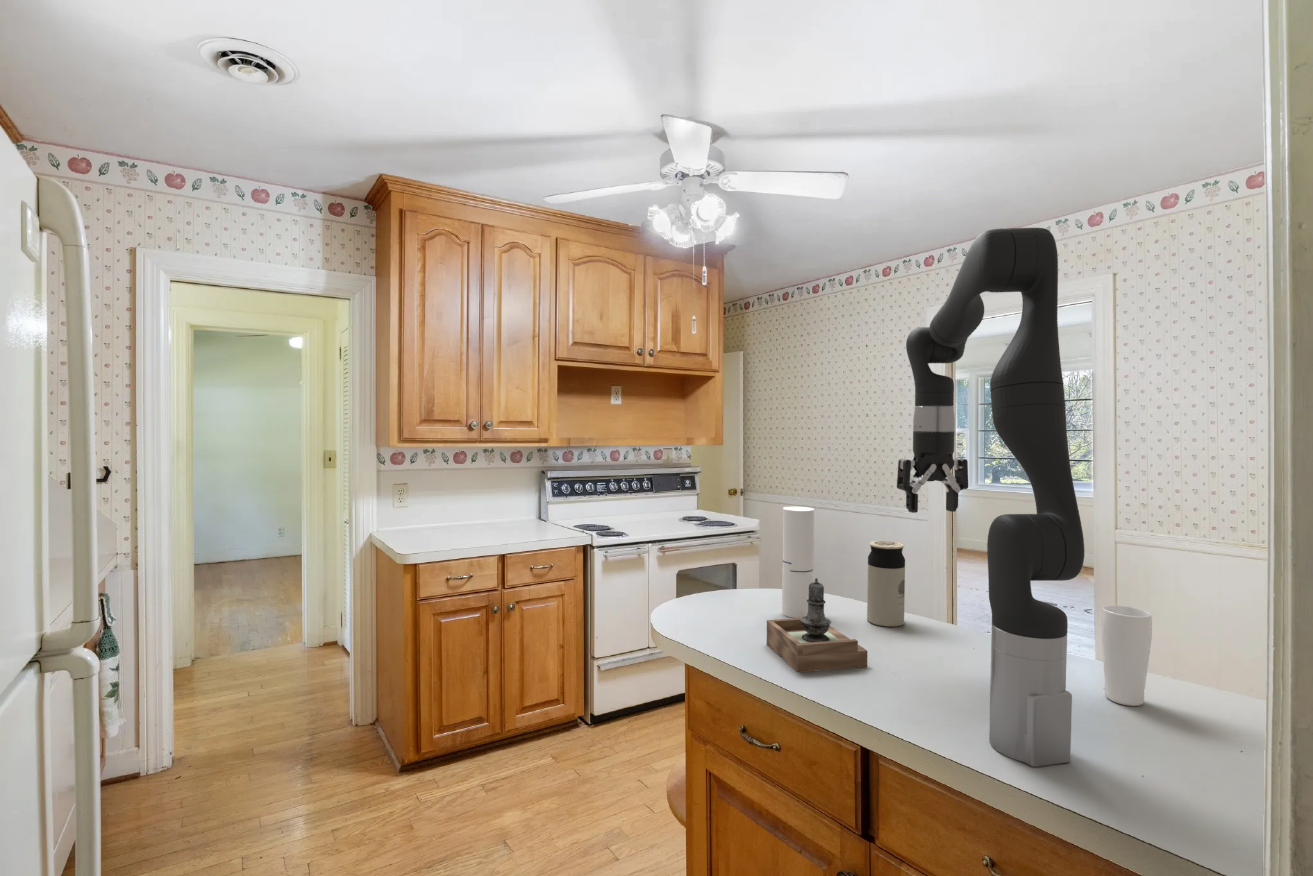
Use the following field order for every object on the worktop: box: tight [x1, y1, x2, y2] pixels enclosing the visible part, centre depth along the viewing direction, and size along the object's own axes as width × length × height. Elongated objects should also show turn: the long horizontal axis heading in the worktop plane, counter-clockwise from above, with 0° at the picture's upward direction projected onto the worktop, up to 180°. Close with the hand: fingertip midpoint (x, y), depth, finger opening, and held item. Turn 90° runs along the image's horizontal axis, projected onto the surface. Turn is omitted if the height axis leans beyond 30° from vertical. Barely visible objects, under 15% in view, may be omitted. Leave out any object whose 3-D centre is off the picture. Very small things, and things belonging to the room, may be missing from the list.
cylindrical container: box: [781, 506, 815, 618], centre depth 154 cm, size 7×7×25 cm
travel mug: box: [866, 540, 906, 628], centre depth 148 cm, size 8×8×18 cm
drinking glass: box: [1100, 604, 1153, 707], centre depth 107 cm, size 7×7×15 cm
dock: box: [766, 617, 868, 673], centre depth 128 cm, size 15×14×5 cm
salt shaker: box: [801, 577, 832, 642], centre depth 128 cm, size 6×6×12 cm
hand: (932, 511), depth 128 cm, fingers open, 8 cm apart
